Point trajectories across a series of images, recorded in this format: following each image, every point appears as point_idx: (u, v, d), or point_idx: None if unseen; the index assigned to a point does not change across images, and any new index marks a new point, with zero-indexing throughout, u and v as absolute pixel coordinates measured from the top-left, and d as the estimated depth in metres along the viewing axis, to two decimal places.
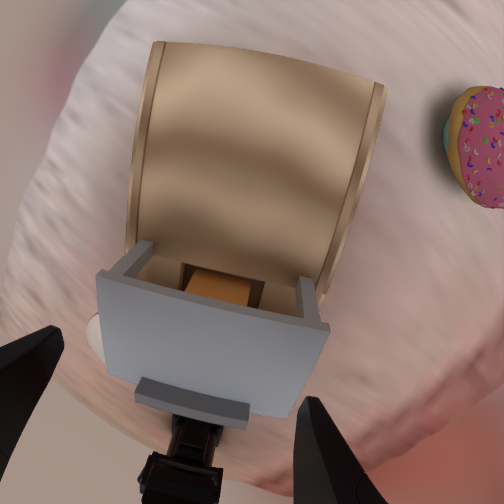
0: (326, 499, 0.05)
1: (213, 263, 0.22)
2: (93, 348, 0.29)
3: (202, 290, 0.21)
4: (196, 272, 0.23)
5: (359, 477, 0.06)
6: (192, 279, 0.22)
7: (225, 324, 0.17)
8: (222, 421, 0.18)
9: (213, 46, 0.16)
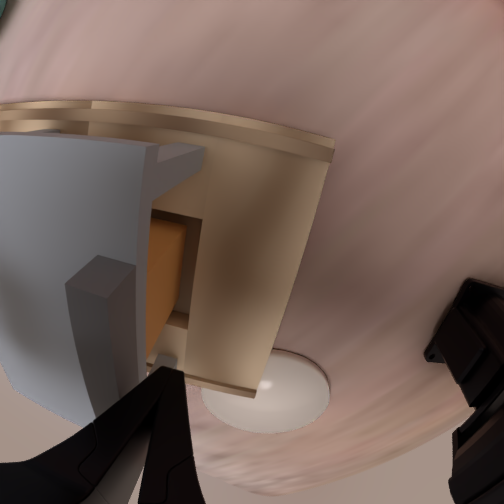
0: None
1: None
2: (273, 431, 0.21)
3: None
4: None
5: (182, 458, 0.06)
6: None
7: None
8: (92, 344, 0.07)
9: None
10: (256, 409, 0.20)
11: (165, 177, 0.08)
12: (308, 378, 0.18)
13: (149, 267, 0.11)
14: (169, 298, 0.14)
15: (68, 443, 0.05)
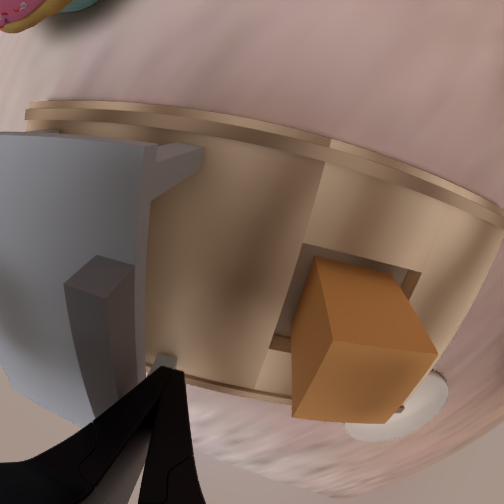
0: None
1: (270, 312, 0.15)
2: (391, 438, 0.21)
3: (298, 341, 0.14)
4: (291, 328, 0.16)
5: (182, 458, 0.06)
6: (291, 342, 0.15)
7: None
8: (91, 344, 0.07)
9: None
10: (388, 422, 0.20)
11: (164, 177, 0.08)
12: (439, 389, 0.18)
13: (421, 326, 0.11)
14: None
15: (68, 443, 0.05)
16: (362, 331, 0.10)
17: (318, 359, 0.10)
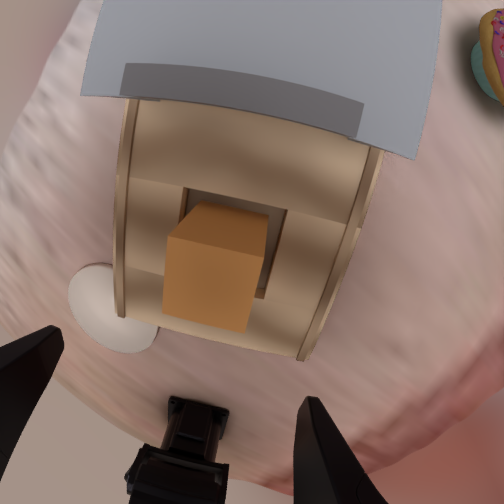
0: (326, 499, 0.05)
1: (223, 186, 0.18)
2: (75, 315, 0.24)
3: (208, 216, 0.17)
4: (201, 202, 0.19)
5: (359, 477, 0.06)
6: (196, 207, 0.18)
7: None
8: (309, 105, 0.08)
9: None
10: (97, 307, 0.23)
11: (379, 148, 0.12)
12: (142, 342, 0.24)
13: None
14: None
15: None
16: None
17: (237, 247, 0.14)
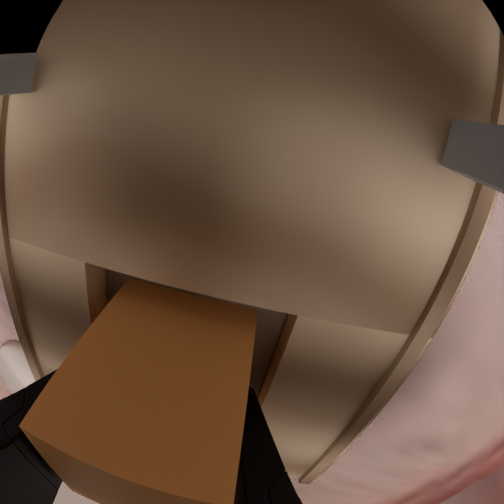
0: (239, 493, 0.05)
1: (157, 266, 0.08)
2: (13, 392, 0.14)
3: (126, 338, 0.07)
4: (126, 287, 0.09)
5: (277, 475, 0.06)
6: (110, 305, 0.08)
7: None
8: None
9: None
10: None
11: None
12: None
13: None
14: None
15: (1, 403, 0.05)
16: None
17: (167, 473, 0.04)
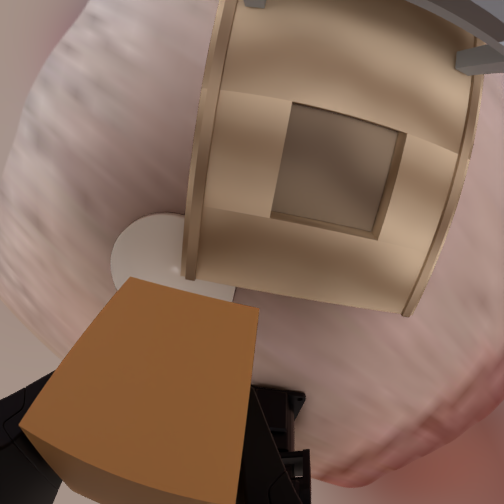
0: (239, 493, 0.05)
1: (340, 102, 0.14)
2: (119, 288, 0.20)
3: (126, 336, 0.07)
4: (127, 285, 0.09)
5: (277, 475, 0.06)
6: (110, 304, 0.08)
7: None
8: (490, 0, 0.04)
9: None
10: (152, 272, 0.20)
11: None
12: None
13: None
14: None
15: (1, 403, 0.05)
16: None
17: (168, 472, 0.04)
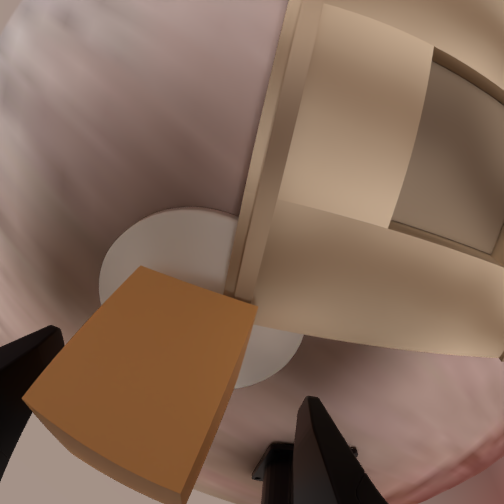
0: (326, 499, 0.05)
1: (489, 67, 0.06)
2: None
3: (124, 326, 0.08)
4: (135, 274, 0.10)
5: (359, 477, 0.06)
6: (117, 293, 0.09)
7: None
8: None
9: None
10: None
11: None
12: (259, 369, 0.13)
13: None
14: None
15: None
16: (192, 476, 0.06)
17: (132, 454, 0.05)
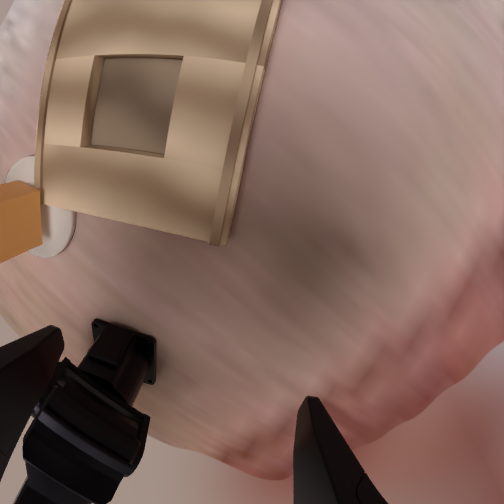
0: (326, 499, 0.05)
1: (126, 46, 0.14)
2: None
3: None
4: (12, 181, 0.18)
5: (359, 477, 0.06)
6: (2, 184, 0.17)
7: None
8: None
9: None
10: None
11: None
12: (59, 239, 0.21)
13: None
14: None
15: None
16: None
17: None
